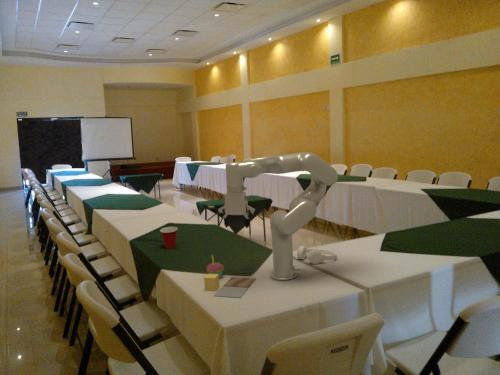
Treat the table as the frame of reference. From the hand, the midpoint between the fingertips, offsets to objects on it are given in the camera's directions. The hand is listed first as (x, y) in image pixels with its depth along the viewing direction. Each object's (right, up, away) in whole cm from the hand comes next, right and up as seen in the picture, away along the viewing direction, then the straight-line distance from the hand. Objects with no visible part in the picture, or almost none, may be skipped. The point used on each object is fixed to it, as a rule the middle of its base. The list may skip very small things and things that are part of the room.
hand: (237, 226), depth 190 cm
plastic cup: (-43, -20, +69) cm, 84 cm away
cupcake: (-11, -26, +12) cm, 30 cm away
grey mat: (-2, -28, -8) cm, 29 cm away
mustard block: (-11, -28, -2) cm, 30 cm away
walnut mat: (+1, -26, +4) cm, 26 cm away
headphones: (+42, -21, +34) cm, 57 cm away
